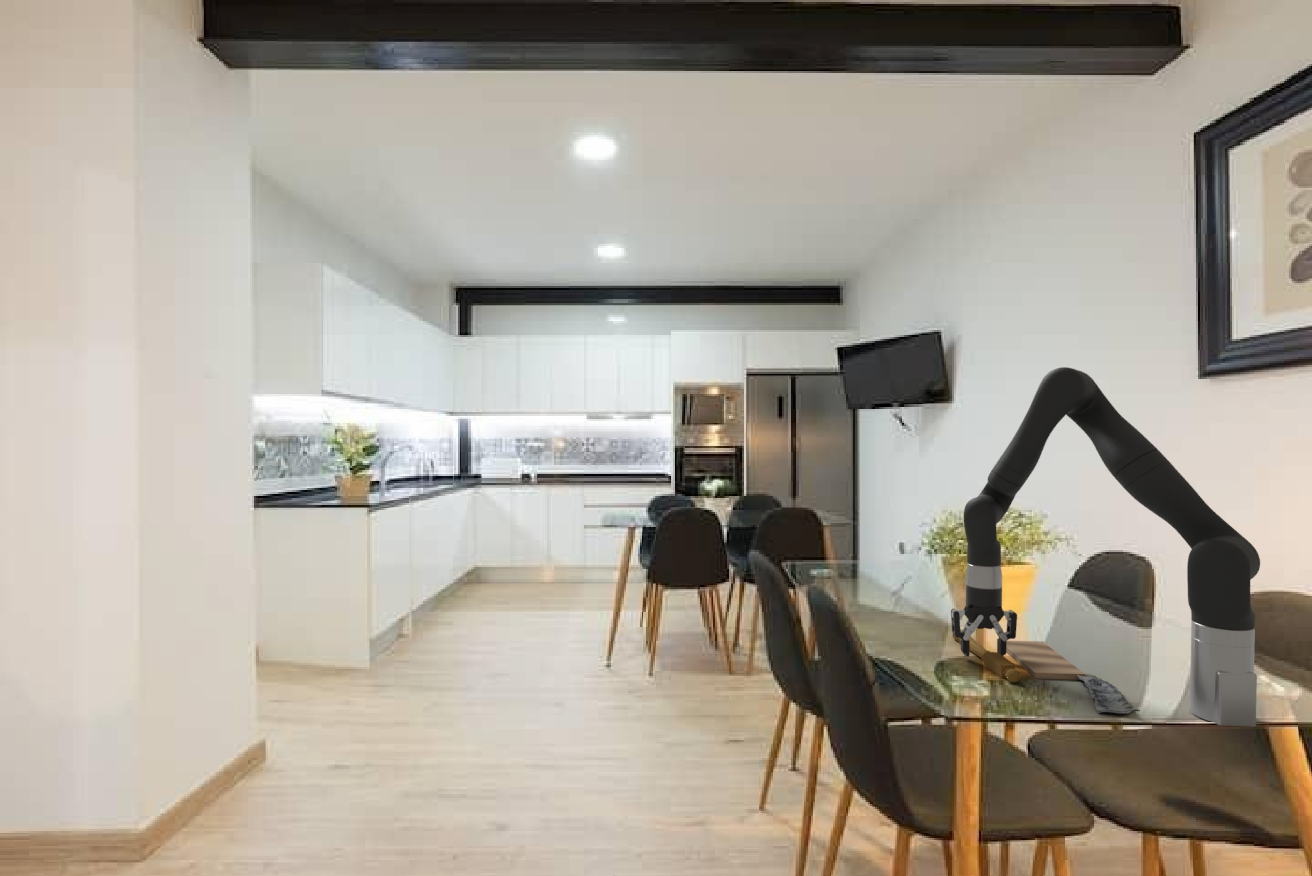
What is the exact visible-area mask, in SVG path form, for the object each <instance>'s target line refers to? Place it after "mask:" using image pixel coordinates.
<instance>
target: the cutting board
mask: <svg viewBox="0 0 1312 876" xmlns="http://www.w3.org/2000/svg"><path fill="white" fill-rule="evenodd" d="M1006 654H1007V655H1009V657H1011V658H1012V659H1013V660H1014V661H1015V662H1016V663H1017V664H1019V665H1020V666H1021V667H1022V668H1023V669H1024V670H1025V671H1026V672H1027V673H1029V674H1030V675H1031V676H1032V677H1033V678H1034V679H1039V680H1041V679H1044V680H1046V679H1047V680H1074V681H1077V680H1078V681H1082V680H1081V679H1079V677H1078V676H1077V675H1080V676H1085V674H1086V673H1084V672H1083V671H1082V670H1081V669H1079V668H1078V667H1076V665H1074V664H1073V663H1071V662H1070V661H1069V660H1067V659H1066V658H1064V657H1063V656H1062V655H1061V654H1060V653H1058V652H1057V651H1055V650H1054V649H1053V648H1052V647H1050V646H1049V645H1048V644H1046V643H1045V642H1044V641H1041V640H1040V641H1036V640H1035V641H1034V640H1007V642H1006Z"/></svg>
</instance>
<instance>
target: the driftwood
mask: <svg viewBox="0 0 1312 876" xmlns="http://www.w3.org/2000/svg"><path fill="white" fill-rule="evenodd" d="M1084 674H1085V676H1080V675H1077V676H1078V677H1079V679H1081V680H1080V681H1083V682H1084V683H1083V687H1084V688H1088V691H1089V695H1090V696H1091V698H1092V699H1094V708H1095V709H1096V712H1097V713H1098V714H1101V713H1114V714H1130V713H1131V712H1140V711H1141V710H1140V709H1137V708H1135V707H1134V706H1133V705H1132V704H1131V703H1129V702H1128V700H1127V697H1126V695H1124V694H1122V691H1120V690H1119V688H1118V687H1116V686H1115V685H1113V683H1110V682H1109V681H1107V680H1103V679H1102V678H1101V677H1098V676H1095V674H1094V675H1093V674H1090V673H1084Z"/></svg>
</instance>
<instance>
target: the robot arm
mask: <svg viewBox="0 0 1312 876" xmlns="http://www.w3.org/2000/svg"><path fill="white" fill-rule="evenodd" d="M1066 416H1067V417H1068V418H1069V419H1070V420H1072V422H1074V423H1075V424H1076V425H1077V426H1078V427H1079V428H1080V429H1081V430H1082V431H1083V432H1084V434H1085V435H1086V436H1087V437H1088V438H1089V440H1090V441H1091V442H1092V445H1093V446H1094V448H1095V449H1096V451H1097V453H1098V455H1099V457H1100V459H1101V461H1102V462H1103V464H1104V466H1105V467H1106V469H1107V471H1109V473H1110V474H1111V475H1112V477H1114V479H1115V480H1116V481H1117V482H1118V483H1119V484H1120V485H1121V486H1122V488H1123V489H1124V490H1125V491H1126V492H1127V493H1128V494H1129V495H1130V496H1131V497H1132V498H1133V499H1134V500H1136V502H1138V503H1139V504H1140V505H1142V506H1143V507H1144V508H1146V509H1148V511H1151V512H1152V513H1153V514H1154V515H1156V516H1158V517H1159V518H1161V519H1162V520H1163V521H1164V522H1166V524H1169V525H1170V526H1171V527H1172V528H1173V529H1174V530H1175V531H1176V532H1177V533H1178V535H1180V536H1181V538H1182V539H1183V540H1184V542H1185V543H1186V544H1187V545H1188V547H1190V549H1191V550H1190V551H1189V554H1188V557H1187V564H1186V565H1187V571H1186V574H1187V575H1186V577H1187V603H1188V607H1189V609H1190V613H1191V614H1190V615H1191V618H1190V619H1191V629H1190V631H1191V632H1190V680H1189V682H1190V683H1189V685H1190V687H1189V689H1190V690H1189V691H1190V692H1189V697H1190V698H1189V711H1190V712H1191V713H1192V714H1193V715H1194V716H1195V717H1198V718H1200V719H1203V720H1206V721H1208V722H1212V723H1214V724H1216V725H1217V726H1223V727H1224V726H1225V727H1226V726H1227V727H1229V726H1231V727H1255V728H1256V727H1257V690H1258V689H1257V687H1258V676H1257V674H1256V673H1255V639H1256V638H1255V637H1256V636H1255V635H1256V633H1255V632H1256V629H1255V628H1256V615H1255V612H1254V611H1253V608H1252V606H1251V580H1252V579H1253V578H1255V577H1256V576H1257V575H1258V574H1259V573H1258V572H1259V571H1260V568H1261V558H1260V555H1259V552H1258V551H1257V549H1256V548H1255V547H1254V545H1253V544H1252V543H1251V542H1250V541H1249V540H1247V538H1246V537H1244V535H1242V534H1240V533H1239V532H1238V531H1237V530H1236V529H1235V528H1234V527H1232V525H1231V524H1229V523H1228V522H1227V521H1226V520H1225V519H1223V518H1222V516H1220V515H1219V514H1218V513H1216V511H1214V509H1212V508H1211V507H1210V506H1209V505H1208V504H1207V503H1206V501H1204V499H1203V498H1202V497H1201V496H1200V495H1199V493H1198V492H1197V491H1196V490H1195V488H1194V487H1193V486H1192V485H1191V484H1190V483H1189V482H1188V480H1187V479H1186V478H1185V477H1184V476H1183V475H1182V474H1181V473H1180V472H1179V471H1178V470H1177V469H1176V467H1175V466H1174V465H1173V464H1172V462H1170V461H1169V460H1168V459H1167V457H1166V456H1164V454H1163V453H1162V452H1161V451H1160V450H1159V449H1158V448H1157V447H1156V446H1155V445H1154V444H1153V443H1152V442H1151V441H1150V440H1149V439H1148V438H1147V437H1145V436H1144V434H1142V433H1141V432H1140V430H1138V429H1137V428H1136V427H1135V426H1134V425H1132V424H1131V422H1129V421H1128V420H1126V419H1125V418H1124V417H1123V415H1121V414H1120V413H1119V411H1118V410H1116V408H1115V406H1113V404H1112V403H1111V401H1110V400H1109V399H1108V398H1107V396H1106V395H1105V394H1104V393H1103V391H1102V389H1100V387H1099V386H1098V384H1097V383H1096V382H1095V380H1094V379H1093V378H1092V377H1091V376H1090V375H1089V374H1088V373H1086V372H1084V371H1082V370H1078V369H1075V368H1073V367H1068V366H1067V367H1065V366H1063V367H1062V366H1061V367H1057V368H1055V369H1052V370H1050V371H1049V372H1048V373H1046V374H1045V375H1044V377H1043V378H1042V379H1041V382H1040V383H1039V385H1038V388H1037V389H1036V392H1035V394H1034V396H1033V399H1032V400H1031V404H1030V406H1029V408H1028V410H1027V412H1026V414H1025V416H1024V417H1023V419H1022V422H1021V423H1020V425H1019V427H1018V428H1017V430H1016V432H1015V434H1014V436H1013V438H1012V439H1011V441H1010V442H1009V444H1008V445H1007V447H1006V448H1005V450H1004V451H1003V452H1002V454H1001V455H1000V457H999V459H998V460H997V461H996V463H995V464H994V465H993V468H992V469H991V470H990V472H989V474H988V476H987V482H986V484H985V486H984V487H983V488H982V491H980V493H979V495H978V496H976V497H973V498H971V499H969V500H968V502H967V503H966V504H965V506H964V510H963V525H964V532H965V537H966V543H967V546H966V555H967V556H966V569H965V577H964V581H965V607H964V608H963V609H956V608H952V609H950V618H951V619H950V621H951V632H952V635H953V634H954V635H955V636H956V637H959V638H961V644H960V651H961V653H962V655H964V656H965V657H970V650H969V646H970V641H969V640H968V639H969V638H970V637H972V635H973V634H974V633H975V631H976V630H977V629H978V630H982V629H983V630H984V629H987V630H994V632H995V633H996V635H997V637H998V638H997V639H996V644H997V645H996V652H997V653H999V654H1001V655H1002V656H1004V657H1005V656H1006V654H1007V652H1006V642H1007V641H1010V640H1011V639H1012V640H1014V639H1015V640H1016V637H1017V627H1018V626H1017V625H1018V613H1016V612H1015V611H1014V610H1012V609H1008V610H1004V609H1003V608H1002V607H1003V571H1002V547H1001V542H1000V541H999V540H998V539H997V536H998V535H997V524H998V523H999V522H1000V521H1001V520H1002V519H1003V518H1004V517H1005V515H1006V513H1007V512H1008V511H1009V509H1010V507H1011V506H1012V503H1013V501H1014V500H1015V497H1016V495H1017V494H1018V492H1020V490H1021V489H1022V487H1023V486H1024V484H1025V483H1026V482H1027V480H1028V478H1029V477H1030V476H1031V474H1032V472H1034V470H1035V468H1036V466H1037V464H1038V463H1039V460H1040V458H1041V456H1042V453H1043V451H1044V447H1045V446H1046V443H1047V441H1048V439H1049V437H1050V436H1051V434H1052V432H1053V431H1054V429H1055V428H1056V426H1057V425H1058V424H1059V423H1060V422H1061V421H1062V420H1063V419H1064V417H1066ZM964 616H965V618H966V619H967V620H966V622H965V623H964V625H963V626H964V627H963V629H961V622H960V621H961V620H962V619H963V617H964ZM1003 618H1004V619H1005V620H1006V631H1004V629H1003V628H1002V626H1001V624H1000V623H999V622H1000V621H1001V620H1002V619H1003ZM960 630H962V632H961V631H960Z"/></svg>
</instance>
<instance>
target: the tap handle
mask: <svg viewBox="0 0 1312 876" xmlns="http://www.w3.org/2000/svg"><path fill="white" fill-rule="evenodd" d="M962 630H963V629H960V631H961V632H962ZM952 638H953V640H955V641H956V642H958V643H959V644H960V645H961V638H959V637H956V636H955V635H954V634H953V633H952ZM968 640H969V641H970V646H969V652H972V653H974V654H975V655H976V656H978V657H979V658H981V661H983V665H984V666H985V667H986V668H988V670H990V671H991V672H992V673H994V674H995V675H996V676H998V677H999V678H1000V679H1006V680H1007V681H1008V682H1010V683H1012V684H1014V683H1015V684H1017V683H1018V682H1020V680H1021V677H1022V676H1021V673H1020V671H1018V670H1017V669H1016V667H1015V663H1013V662H1012V661H1011V660H1009V659H1008V658H1006V657H1005V655H1004V656H1002V655H1001V654H999V653H997V651H996V652H995V651H990V650H987V649H986V648H984V647H983V646H982V645H981V644H980V643H979V642H978V641H976V640H975V639H974V638H973V637H972V636H970V638H969V639H968ZM1007 677H1008V678H1007Z"/></svg>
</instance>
